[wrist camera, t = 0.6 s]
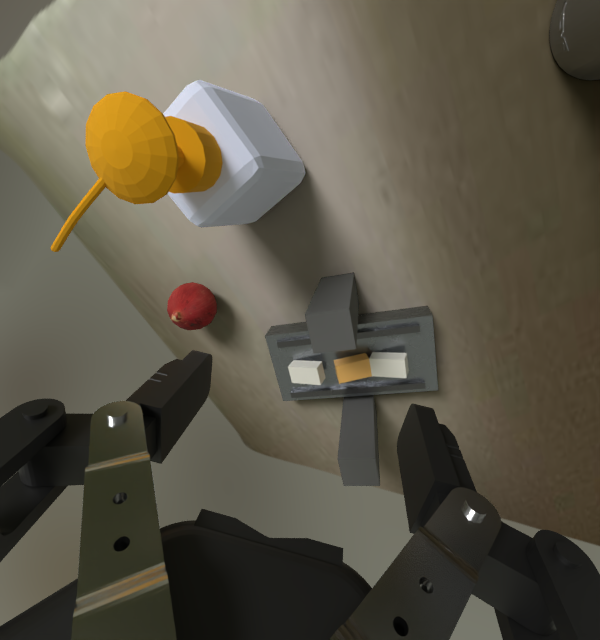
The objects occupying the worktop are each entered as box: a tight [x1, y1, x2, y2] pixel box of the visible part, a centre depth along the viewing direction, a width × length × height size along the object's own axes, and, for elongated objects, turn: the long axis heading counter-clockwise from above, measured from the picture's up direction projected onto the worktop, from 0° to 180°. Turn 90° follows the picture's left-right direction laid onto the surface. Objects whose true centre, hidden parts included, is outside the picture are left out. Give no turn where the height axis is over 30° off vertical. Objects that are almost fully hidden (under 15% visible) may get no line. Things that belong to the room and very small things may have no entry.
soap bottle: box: [51, 80, 306, 252], centre depth 27 cm, size 10×14×22 cm
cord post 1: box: [305, 273, 359, 353], centre depth 35 cm, size 4×4×12 cm
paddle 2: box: [369, 352, 409, 378], centre depth 38 cm, size 4×2×2 cm, turn 101°
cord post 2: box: [338, 395, 380, 486], centre depth 41 cm, size 4×4×12 cm
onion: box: [167, 282, 217, 330], centre depth 40 cm, size 6×6×8 cm
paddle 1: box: [288, 360, 325, 385], centre depth 41 cm, size 4×2×2 cm, turn 101°
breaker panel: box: [265, 306, 438, 401], centre depth 42 cm, size 20×10×4 cm, turn 102°
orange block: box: [334, 353, 372, 384], centre depth 39 cm, size 4×2×2 cm, turn 103°
